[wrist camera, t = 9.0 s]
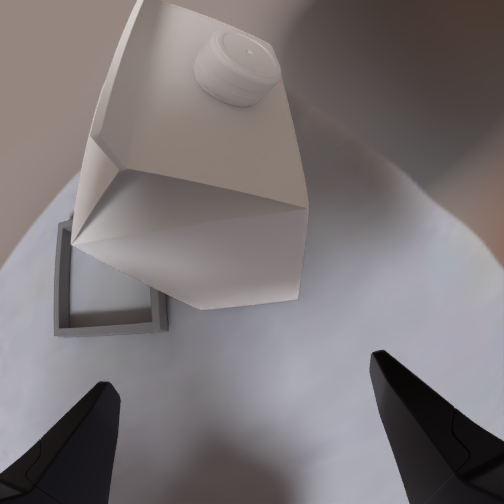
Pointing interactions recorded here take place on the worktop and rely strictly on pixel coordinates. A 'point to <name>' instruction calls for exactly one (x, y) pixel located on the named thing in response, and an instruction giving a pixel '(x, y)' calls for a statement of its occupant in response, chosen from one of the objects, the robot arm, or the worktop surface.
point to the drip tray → (62, 299)
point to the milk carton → (194, 164)
